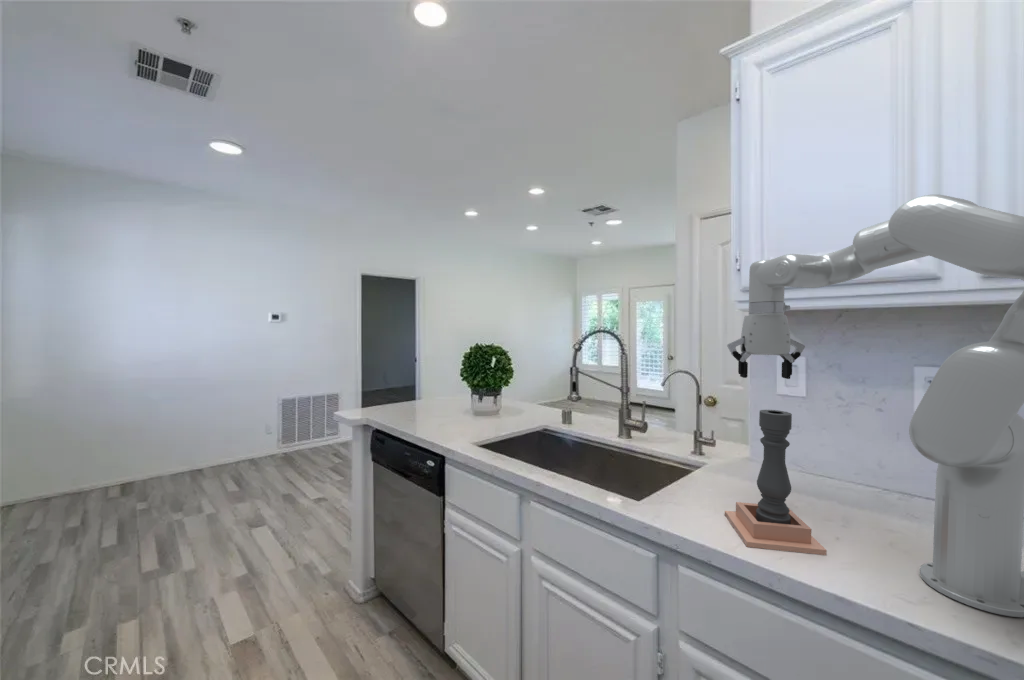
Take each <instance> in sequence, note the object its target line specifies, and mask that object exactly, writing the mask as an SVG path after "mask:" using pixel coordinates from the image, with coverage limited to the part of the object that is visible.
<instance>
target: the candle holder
mask: <svg viewBox="0 0 1024 680" xmlns="http://www.w3.org/2000/svg"><path fill="white" fill-rule="evenodd" d="M792 417H793V414H792V413H791V412H788V411H783V410H776V409H760V410H759V418H758V419H759V420H758V426H759V427H760V430H761V432H762V435H763V437H761V438H760V439H759V441H760V443H761V444H762V446H763V460H762V463H761V466H760V469H759V473H758V477H757V480H756V485H757V486H756V487H757V488H758V490H759V492H760V495H761V499H760V500H759V501H758V502H757V503H756V504H757V505H758V507H759V508H757V509H756V520H757V521H758V522H768V523H779V524H790V525H791V517H790V515H789V514H788V513H789V511H790V510H791V509H790V507H788V505H787V503H785V502H786V501H787V498H788V497H789V495H790V494H791V492H792V485H791V480H790V477H789V473H788V472H789V471H788V468H787V464H786V453H787V452H786V449H787V448H788V447H790V445H791V443H790V441H788V440H787V439H786V438H788V435H789V434H790V432H791V430H792V424H793V423H792V421H793V420H792V419H793V418H792ZM789 509H790V510H789Z"/></svg>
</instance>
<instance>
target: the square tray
mask: <svg viewBox="0 0 1024 680" xmlns="http://www.w3.org/2000/svg"><path fill="white" fill-rule="evenodd" d="M757 504H758V503H753V502H751V503H750V502H741V501H736V502H735V511H732V510H724V516H725V518H726V519H727V521H728V522H729V523H730V525H731V526H732V528H733V529H734V530H735V532H736V533H737V534H738V536H739V537H740V539H741V541H742V540H743V541H742V543H743V544H744V545H745V547H747V548H753V549H763V548H764V550H772V549H773V550H772V551H784V552H794V553H803V554H812V555H821V556H827V552H828V550H827V549H826V548H825V547H824V546H823V545H822V544H821V543H820V542H819V541H818V540H817V539H816V538H815V537H814V536H813V535H812V528H811V527H810V526H809V525H807V524H806V523H805V521H804V520H802V519H801V518H800V517H799V516H798V515H797V514H796V513H795V512H794V511H793V510H791V509H790V508H789V510H790V511H789V513H788V514H789V515H790V517H791V525H790V524H779V523H768V522H758V521H757V520H756V509H757V508H759V507H758V505H757Z"/></svg>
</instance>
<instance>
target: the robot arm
mask: <svg viewBox="0 0 1024 680" xmlns="http://www.w3.org/2000/svg"><path fill="white" fill-rule="evenodd" d="M926 257H933V258H934V259H938V260H942V261H944V262H946V263H949V264H952V265H954V266H957V267H960V268H963V269H966V270H968V271H970V272H974V273H977V274H981V275H984V276H988V277H991V278H992V277H993V278H1001V279H1012V280H1013V279H1015V280H1021V281H1023V282H1024V216H1022V215H1018V214H1015V213H1010V212H1006V211H1001V210H996V209H994V208H993V209H992V208H990V207H989V208H988V207H985V206H980V205H978V204H976V203H975V202H973V201H970V200H968V199H964V198H959V197H954V196H950V195H944V194H927V195H926V194H925V195H922V196H918V197H915V198H913V199H911V200H908V201H906V202H905V203H903V204H902V205H901V206H899V207H898V208H897V209H896V210H895V211H894V212H893V213H892V215H891V216H890V219H888V220H885V221H882V222H880V223H877V224H874V225H871V226H868V227H865V228H862V229H860V230H859V231H857V232H856V234H855V235H854V236H853V240H852V244H851V245H849V246H847V247H845V248H842V249H839V250H836V251H832V252H830V253H827V254H826V253H825V254H822V255H810V254H801V253H800V254H798V253H789V254H788V253H787V254H783V255H780V256H777V257H774V258H772V259H764V260H762V259H761V260H756V261H754V262H752V263H751V264H750V266H749V274H748V275H749V277H748V279H749V280H748V282H749V283H748V315H744V318H743V322H742V327H741V335H740V336H741V337H740V338H738V339H735V340H733V341H731V342H729V343H728V344H727V345H726V346H727V349H728V350H729V352H730V354H731V356H732V357H733V358H735V360H736V361H738V362H737V363H738V364H737V365H738V367H737V371H738V374H739V377H741V378H745V379H747V378H748V373H749V372H748V368H749V367H748V365H749V363H748V362H747V359H749V358H750V356H752V355H754V356H755V355H757V356H759V355H760V356H779V357H780V358H782V360H783V361H782V362H781V378H783V379H787V380H790V379H791V376H792V375H793V363H795V362H796V360H797V359H798V358H800V357H801V354H802V353H803V352H804V350H805V348H806V345H805V344H803V343H800V342H799V341H797V340H795V339H792V338H791V329H790V324H789V320H788V316H787V315H786V314H785V313H786V312H789V311H790V310H791V306H790V304H789V305H787V304H786V302H785V288H787V287H789V288H807V289H816V288H817V289H818V288H823V287H828V286H832V285H837V284H840V283H844V282H848V281H853V280H854V279H857V278H861V277H862V276H863V277H864V276H865V275H867V274H870V273H872V272H874V271H875V270H878V269H882V268H886V267H890V266H894V265H898V264H901V263H905V262H910V261H913V260H917V259H921V258H926ZM738 346H739V348H740V353H739V352H738V351H737V347H738ZM791 347H794V350H793V352H791ZM790 352H791V353H790ZM1023 405H1024V290H1023V292H1022V293H1021V294H1020V295H1019V297H1018V298H1017V299H1016V300H1015V301H1014V302H1013V303H1012V304H1011V306H1010V307H1009V308H1008V310H1007V311H1006V312H1005V314H1004V316H1003V319H1002V320H1001V323H1000V324H999V326H998V327H997V328H996V330H995V332H994V333H993V335H992V336H991V338H989V340H988V341H982V342H976V343H971V344H968V345H965V346H964V347H962V348H959V349H957V350H956V351H954V352H953V353H952V354H950V355H949V356H948V357H947V358H946V359H945V360H944V361H943V362H942V363H941V364H940V367H938V370H937V371H936V373H935V374H934V376H933V378H932V380H931V382H930V384H929V386H928V387H927V389H926V391H925V393H924V394H923V396H922V398H921V400H920V402H919V403H918V405H917V406H916V409H915V411H914V412H913V414H912V416H911V419H910V422H909V427H908V435H909V439H910V442H911V443H912V445H913V447H914V449H916V451H917V452H918V453H920V455H922V456H923V457H924V458H926V459H928V460H929V461H931V462H933V463H936V464H937V468H936V475H935V489H934V490H935V491H934V513H933V514H934V517H933V519H934V520H933V542H932V543H933V546H932V562H926V563H924V564H922V565H920V567H919V575H920V578H921V579H922V580H923V581H924V582H925V583H926V584H927V585H928V586H929V587H931V588H933V589H934V590H936V591H937V592H938V593H941V594H943V595H944V596H946V597H948V598H950V599H952V600H954V601H956V602H959V603H962V604H965V605H966V606H969V607H973V608H975V609H978V610H982V611H985V612H988V613H991V614H997V615H1000V616H1006V617H1010V618H1011V617H1012V618H1013V617H1014V618H1024V570H1022V563H1023V561H1022V560H1023V539H1024V538H1023V537H1024V535H1023V534H1024V533H1023V532H1024V418H1023V417H1022V416H1021V415H1020V414H1019V411H1020V409H1021V408H1022V407H1023Z"/></svg>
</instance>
